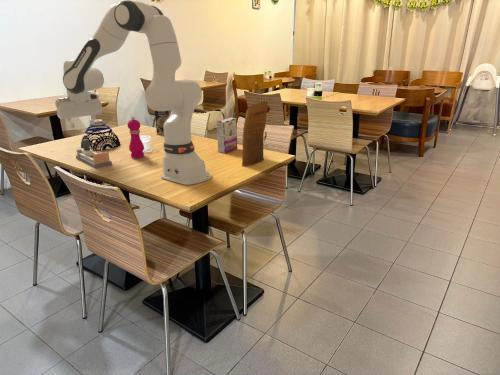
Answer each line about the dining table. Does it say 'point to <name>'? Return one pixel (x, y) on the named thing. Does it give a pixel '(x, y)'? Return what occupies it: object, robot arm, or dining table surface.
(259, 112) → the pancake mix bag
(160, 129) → the coffee box
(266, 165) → the dining table surface
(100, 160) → the rail board
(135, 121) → the pepper mill
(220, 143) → the candy bar box
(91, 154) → the keeper
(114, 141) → the decorative bowl
